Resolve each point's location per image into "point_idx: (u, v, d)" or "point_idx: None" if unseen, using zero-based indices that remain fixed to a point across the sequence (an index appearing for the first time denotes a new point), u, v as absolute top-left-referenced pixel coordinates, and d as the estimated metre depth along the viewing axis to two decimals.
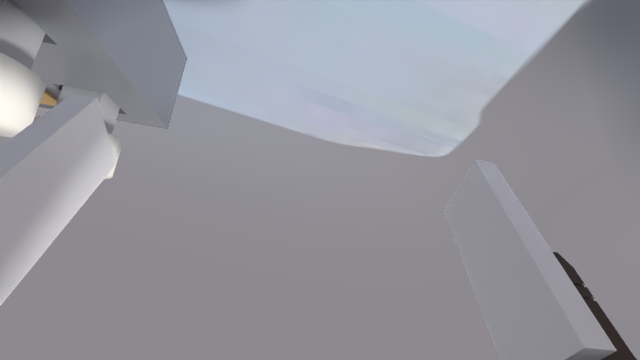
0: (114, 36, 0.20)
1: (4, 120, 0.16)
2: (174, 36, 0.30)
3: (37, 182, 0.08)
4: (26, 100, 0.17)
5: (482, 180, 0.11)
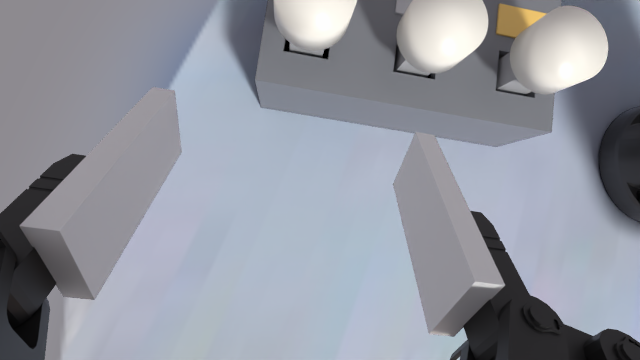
0: (385, 108, 0.30)
1: (451, 55, 0.24)
2: (298, 112, 0.36)
3: (138, 163, 0.10)
4: (434, 64, 0.25)
5: (419, 149, 0.12)
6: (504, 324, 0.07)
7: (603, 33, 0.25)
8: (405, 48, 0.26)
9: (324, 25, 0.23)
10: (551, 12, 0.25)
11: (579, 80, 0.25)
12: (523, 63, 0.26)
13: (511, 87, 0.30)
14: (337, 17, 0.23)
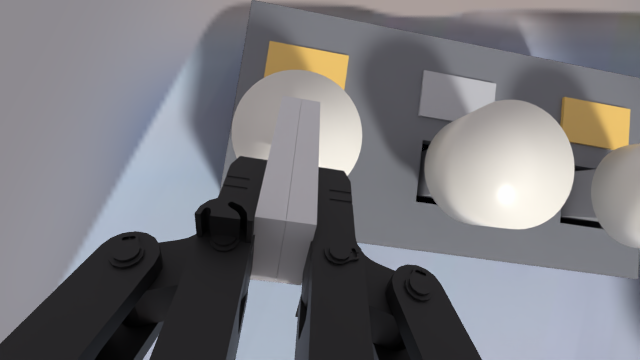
0: None
1: (518, 226, 0.15)
2: None
3: None
4: None
5: (299, 114, 0.12)
6: (311, 270, 0.07)
7: None
8: (439, 196, 0.17)
9: None
10: None
11: None
12: (618, 214, 0.17)
13: (583, 218, 0.21)
14: None
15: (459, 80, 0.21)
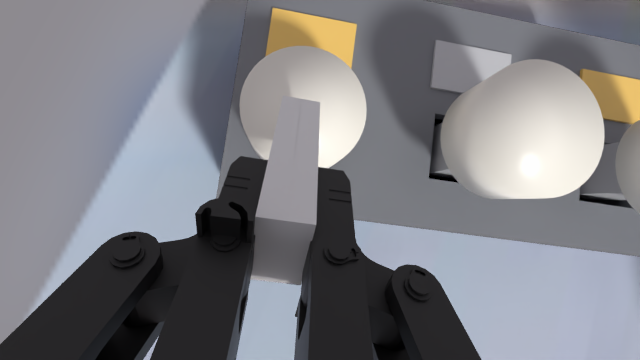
0: None
1: (546, 194, 0.14)
2: None
3: None
4: (509, 197, 0.15)
5: (299, 114, 0.12)
6: (310, 270, 0.07)
7: None
8: (458, 167, 0.15)
9: None
10: None
11: None
12: None
13: (603, 195, 0.20)
14: (336, 148, 0.15)
15: (473, 50, 0.20)
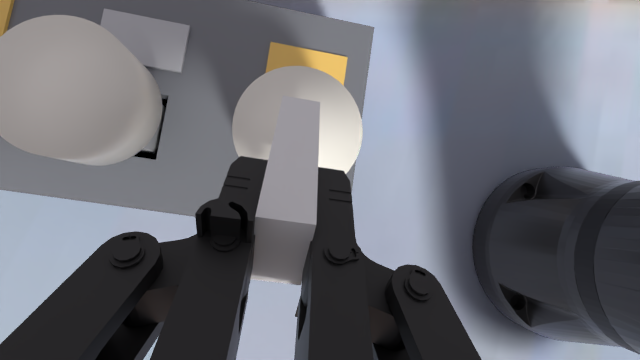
0: None
1: (55, 153, 0.13)
2: None
3: None
4: None
5: (299, 114, 0.12)
6: (310, 270, 0.07)
7: (355, 111, 0.15)
8: None
9: None
10: (262, 77, 0.15)
11: None
12: None
13: None
14: None
15: (146, 20, 0.20)
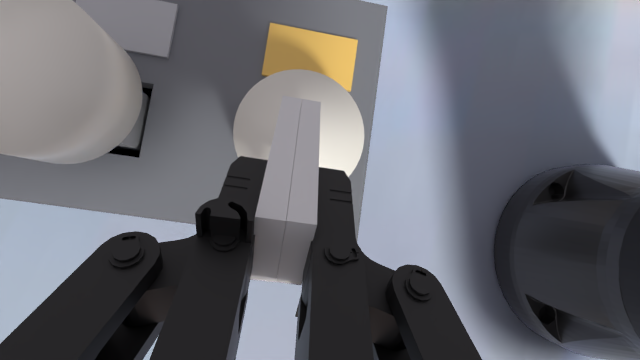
0: None
1: (3, 148, 0.11)
2: None
3: None
4: None
5: (300, 114, 0.12)
6: (311, 270, 0.07)
7: (357, 115, 0.15)
8: None
9: None
10: (263, 81, 0.15)
11: None
12: None
13: None
14: None
15: None
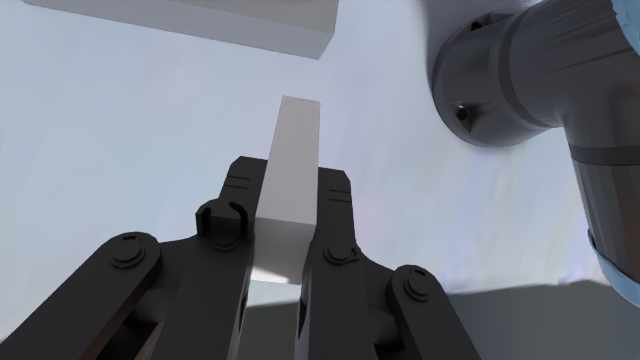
0: (138, 0, 0.26)
1: None
2: (72, 11, 0.31)
3: None
4: None
5: (299, 114, 0.12)
6: (310, 270, 0.07)
7: None
8: None
9: None
10: None
11: None
12: None
13: None
14: None
15: None
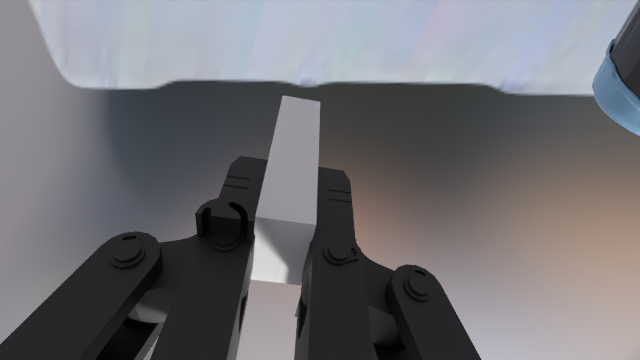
0: None
1: None
2: None
3: None
4: None
5: (299, 114, 0.12)
6: (310, 270, 0.07)
7: None
8: None
9: None
10: None
11: None
12: None
13: None
14: None
15: None
